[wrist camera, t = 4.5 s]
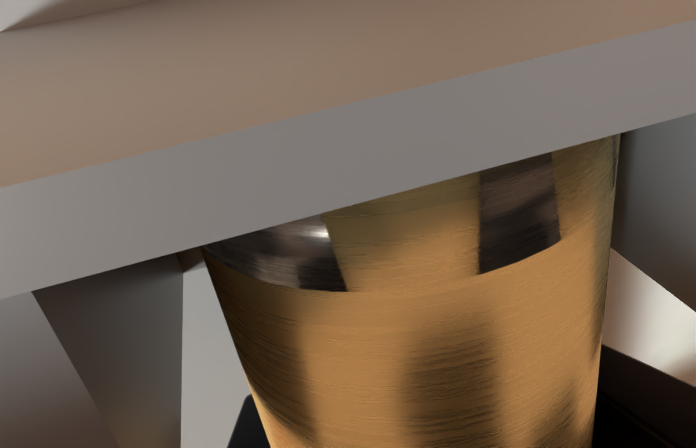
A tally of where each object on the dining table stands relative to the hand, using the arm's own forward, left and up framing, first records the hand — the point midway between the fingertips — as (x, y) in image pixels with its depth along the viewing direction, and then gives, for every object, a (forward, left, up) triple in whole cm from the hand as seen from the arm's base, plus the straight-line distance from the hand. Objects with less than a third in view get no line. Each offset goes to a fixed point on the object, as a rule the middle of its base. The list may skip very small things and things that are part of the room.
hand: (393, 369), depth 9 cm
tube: (-2, 0, 0) cm, 2 cm away
